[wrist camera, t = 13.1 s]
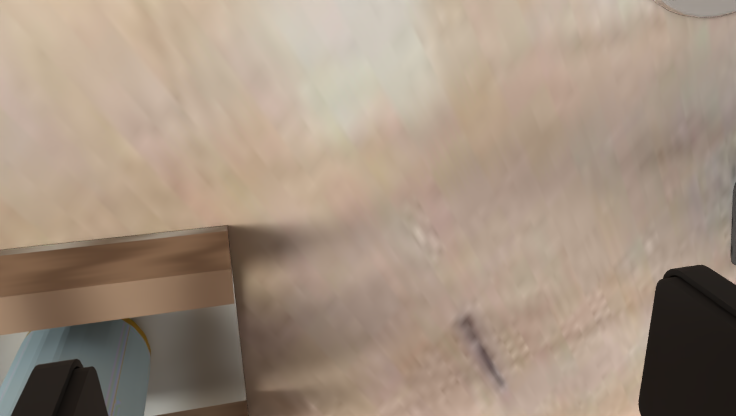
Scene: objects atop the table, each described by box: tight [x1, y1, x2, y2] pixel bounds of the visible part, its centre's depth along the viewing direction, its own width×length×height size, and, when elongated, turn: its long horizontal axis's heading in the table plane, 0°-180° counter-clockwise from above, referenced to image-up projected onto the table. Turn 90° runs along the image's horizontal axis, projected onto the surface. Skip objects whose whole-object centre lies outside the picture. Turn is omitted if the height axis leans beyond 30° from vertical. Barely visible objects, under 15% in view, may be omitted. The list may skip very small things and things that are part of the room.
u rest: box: [0, 226, 248, 416], centre depth 35 cm, size 16×14×6 cm
